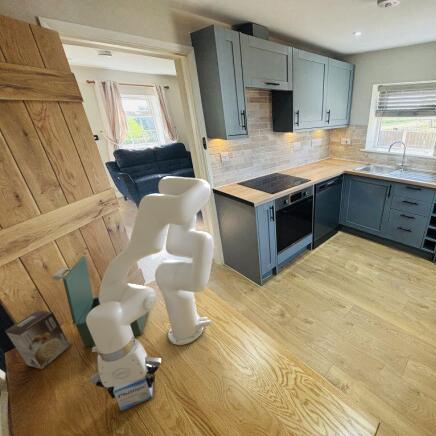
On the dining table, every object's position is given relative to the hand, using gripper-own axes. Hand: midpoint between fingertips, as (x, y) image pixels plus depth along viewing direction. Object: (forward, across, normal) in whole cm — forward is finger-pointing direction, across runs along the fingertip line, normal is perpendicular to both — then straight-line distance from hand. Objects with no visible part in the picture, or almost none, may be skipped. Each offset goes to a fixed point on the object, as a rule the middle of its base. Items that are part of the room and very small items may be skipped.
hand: (133, 387), depth 68 cm
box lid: (-16, -20, +31) cm, 40 cm away
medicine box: (+5, 0, 0) cm, 5 cm away
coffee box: (+5, -32, +24) cm, 40 cm away
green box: (+5, -13, +31) cm, 34 cm away
